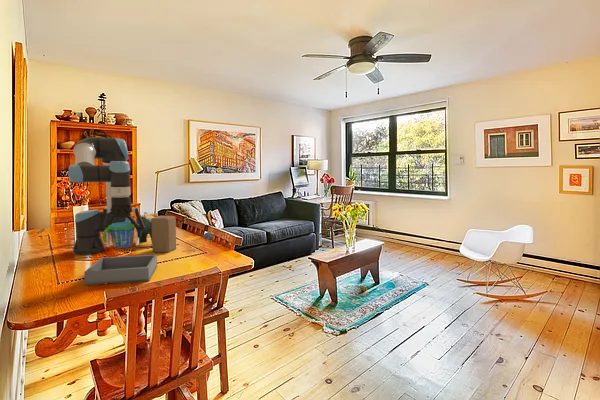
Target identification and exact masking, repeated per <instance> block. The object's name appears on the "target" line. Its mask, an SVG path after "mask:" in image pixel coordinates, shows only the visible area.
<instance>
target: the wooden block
mask: <svg viewBox="0 0 600 400" xmlns="http://www.w3.org/2000/svg"><path fill="white" fill-rule="evenodd" d="M150 220H151V222H152V241H151V247H152V252H153V253H163V254H164V253H165V254H166V253H167V254H169V253H170V252H172V251H174V250H176V249H177V220H176V216H175V215H158V216H155V217H152V218H150Z"/></svg>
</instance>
